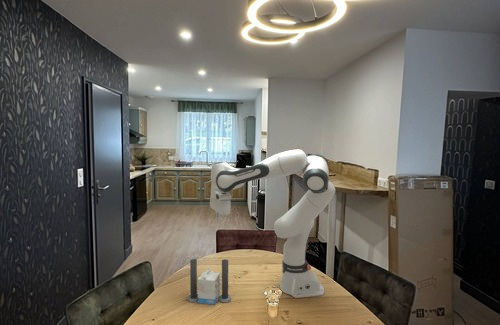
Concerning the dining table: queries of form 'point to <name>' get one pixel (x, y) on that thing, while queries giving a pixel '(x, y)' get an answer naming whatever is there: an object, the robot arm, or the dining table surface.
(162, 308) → the dining table surface
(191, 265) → the post
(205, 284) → the ink box
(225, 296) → the post
